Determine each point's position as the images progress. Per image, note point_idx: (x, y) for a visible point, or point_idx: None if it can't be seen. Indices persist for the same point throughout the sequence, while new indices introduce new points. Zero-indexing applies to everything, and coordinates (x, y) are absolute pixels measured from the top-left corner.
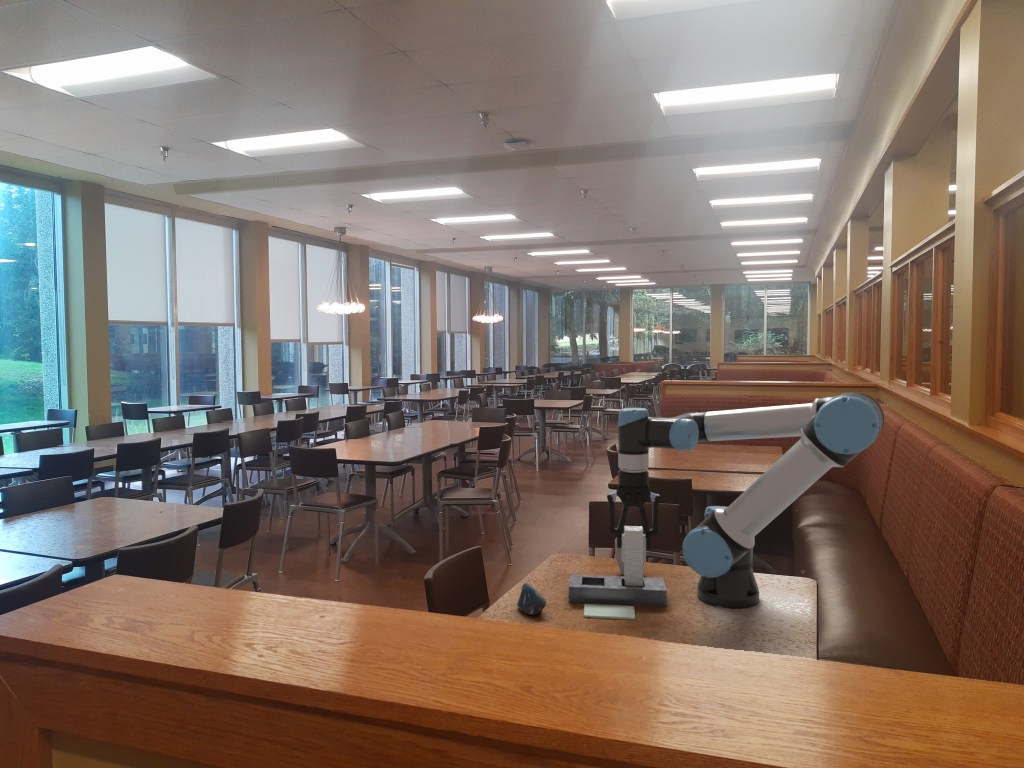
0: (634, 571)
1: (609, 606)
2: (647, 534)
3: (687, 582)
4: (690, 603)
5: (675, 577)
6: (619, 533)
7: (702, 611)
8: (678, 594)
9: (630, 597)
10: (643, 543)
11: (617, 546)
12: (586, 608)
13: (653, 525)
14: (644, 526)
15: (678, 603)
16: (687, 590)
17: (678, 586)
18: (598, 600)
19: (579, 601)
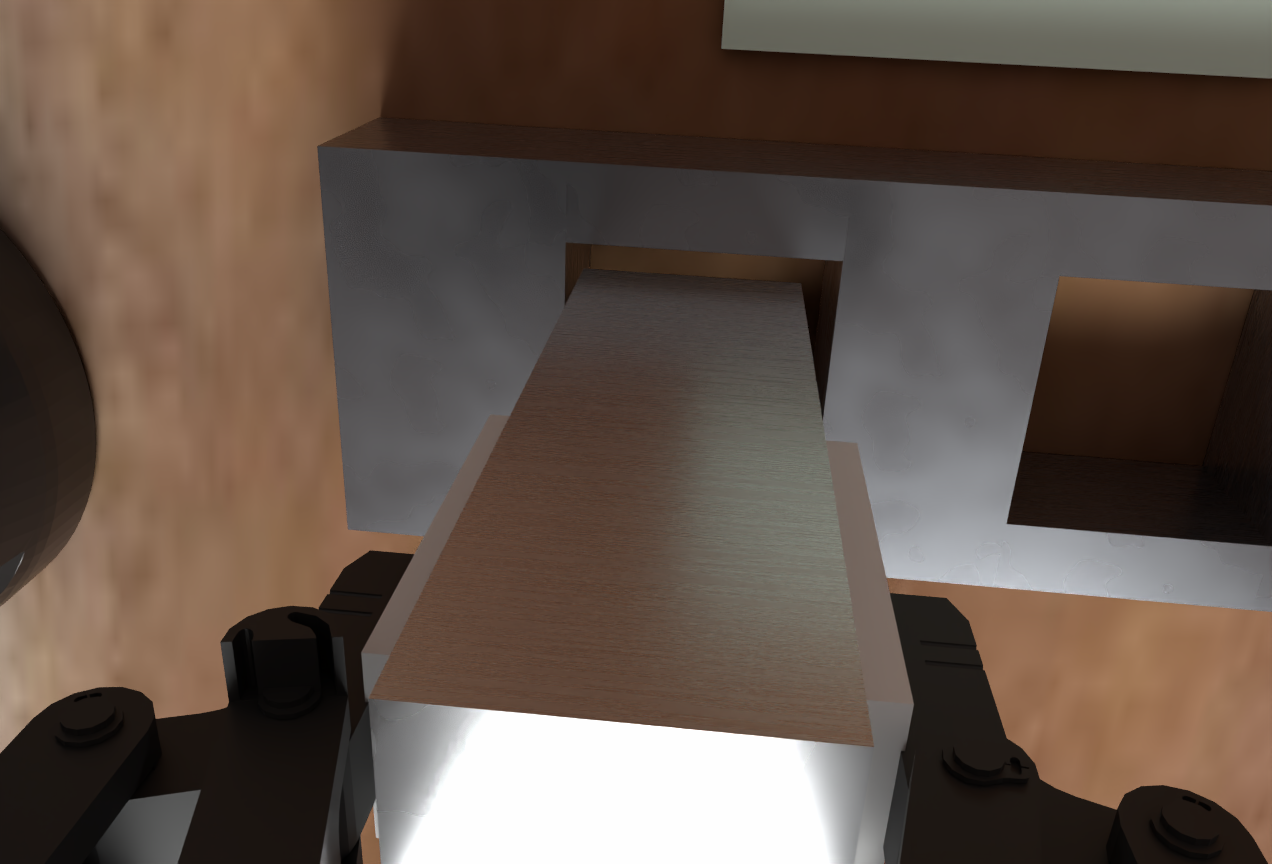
0: (675, 332)
1: (1002, 19)
2: (301, 693)
3: (189, 694)
4: (151, 216)
5: None
6: (983, 764)
7: (30, 6)
8: (262, 433)
9: (747, 154)
10: None
11: (959, 618)
12: None
13: (33, 858)
14: (298, 857)
15: (262, 210)
16: (185, 526)
17: None
18: (1105, 167)
19: None
